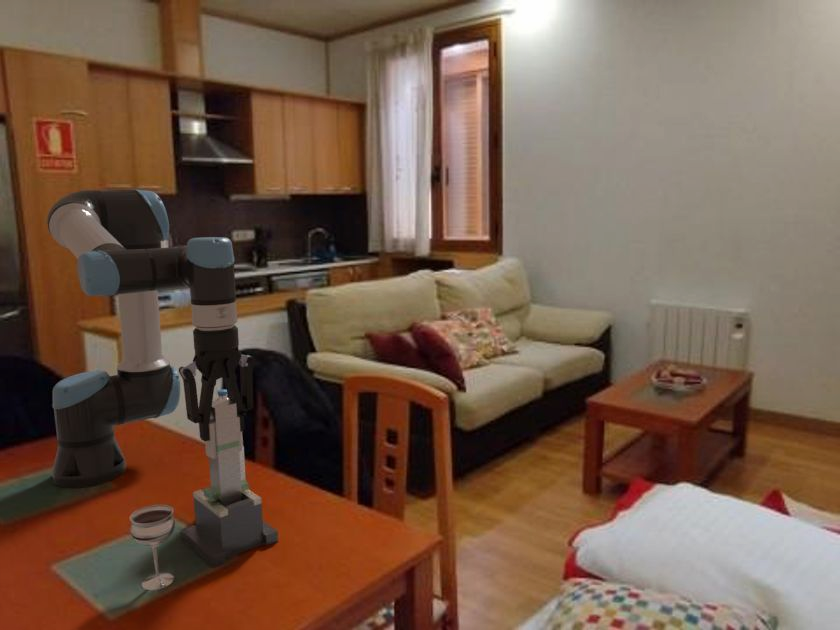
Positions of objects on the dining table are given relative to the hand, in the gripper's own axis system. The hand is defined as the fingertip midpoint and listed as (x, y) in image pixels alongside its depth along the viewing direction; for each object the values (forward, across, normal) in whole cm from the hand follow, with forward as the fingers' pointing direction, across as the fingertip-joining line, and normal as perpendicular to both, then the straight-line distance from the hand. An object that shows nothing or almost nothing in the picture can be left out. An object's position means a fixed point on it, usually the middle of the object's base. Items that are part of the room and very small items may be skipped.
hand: (223, 452), depth 117 cm
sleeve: (+17, 0, 0) cm, 17 cm away
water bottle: (+17, +6, +12) cm, 22 cm away
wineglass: (+17, -15, -4) cm, 23 cm away
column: (+11, 0, 0) cm, 11 cm away
